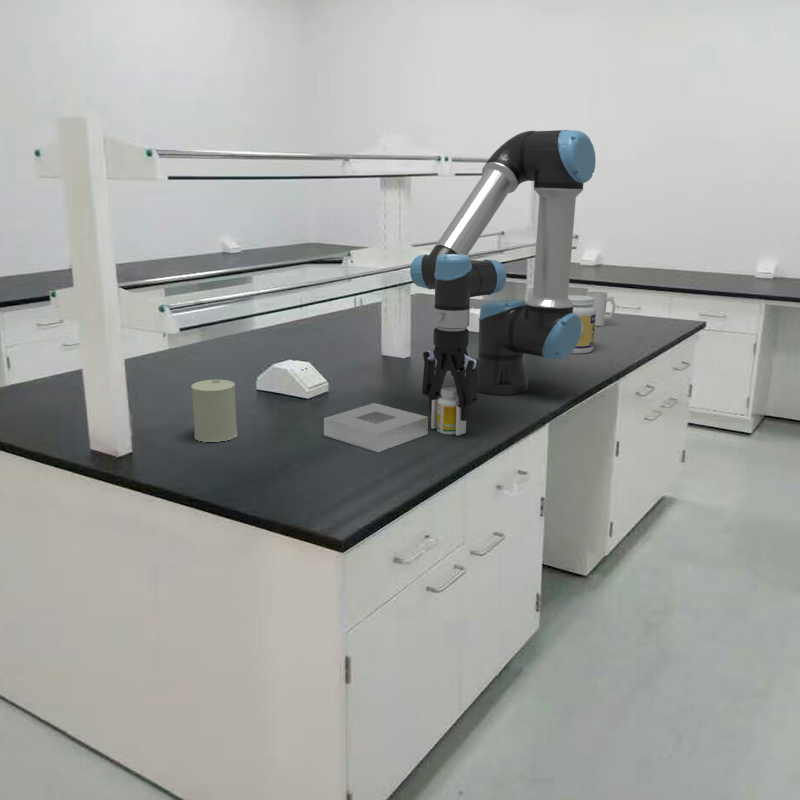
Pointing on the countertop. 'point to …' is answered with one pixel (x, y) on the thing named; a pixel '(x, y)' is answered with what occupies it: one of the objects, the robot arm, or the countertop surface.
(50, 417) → the countertop surface
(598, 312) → the mug
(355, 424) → the block with square hole
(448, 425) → the supplement bottle
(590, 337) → the supplement tub
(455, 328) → the robot arm
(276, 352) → the countertop surface
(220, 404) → the can
